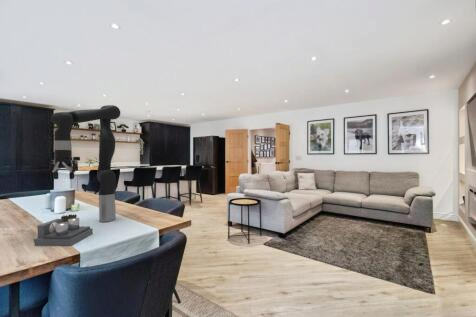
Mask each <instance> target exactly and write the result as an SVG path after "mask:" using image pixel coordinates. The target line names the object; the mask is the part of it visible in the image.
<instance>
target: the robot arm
mask: <svg viewBox="0 0 476 317" xmlns="http://www.w3.org/2000/svg"><path fill="white" fill-rule="evenodd" d="M119 117H121V109H120V108H119V106H116V105H113V104H109V105H108V104H107V105H103V106H101V107H100V108H96V109H93V108H92V109H77V110H73V111H59V112H58V111H57V112H54V113H53V114H52V115H51V116H50V121H51V123H53V124H54V125H56V126H58V129H56V130H55V131H54V144H53V148H54V150H53V151H54V159H50V160H49V161H48V162H49V163H48V166H49V167H48V171H49V172H52V178H53V180H59V171H60V170H61V169H67V170H68V171H69V172H68V173H69V180H74V179H75V172H78V171H79V165H78V164H79V163H78V159H73V160H72V157H73V156H72V154H73V153H72V152H73V151H72V139H71V133H72V131H73V130H72V129H73V125H74V124H80V123H87V122H92V121H98V120H99V142H98V143H99V144H98V166H97V173H96V178H97V181H98V182H99V184H100V187H99V189H98V219H99V223H109V222H113V221H115V220H116V218H117V215H116V214H117V213H116V212H117V211H116V210H117V209H116V189H117V187H116V186H117V177H116V176H117V175H116V173H115V172H114V170H112V160H113V157H114V154H115V152H116V137H115V135H114V133H113V130H112V127H111V123H112V122H111V121H112V120H117V119H118V118H119Z"/></svg>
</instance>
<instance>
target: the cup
mask: <svg viewBox="0 0 476 317" xmlns="http://www.w3.org/2000/svg"><path fill="white" fill-rule="evenodd" d="M77 216H78V215H77V214H76V213H75V214H70V213H69V214H66V215H61V218H60V219H62V222H68V219H71V218H78V217H77Z"/></svg>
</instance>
